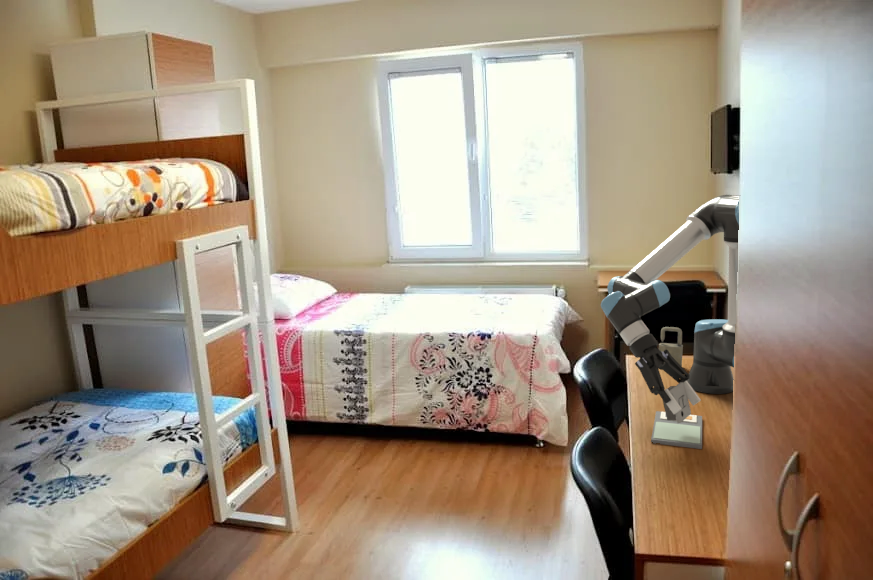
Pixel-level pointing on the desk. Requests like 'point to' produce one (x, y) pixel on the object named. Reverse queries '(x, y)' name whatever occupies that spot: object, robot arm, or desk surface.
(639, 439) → the desk surface
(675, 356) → the padlock
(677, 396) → the electrical switch
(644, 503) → the desk surface
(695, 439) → the switch plate
